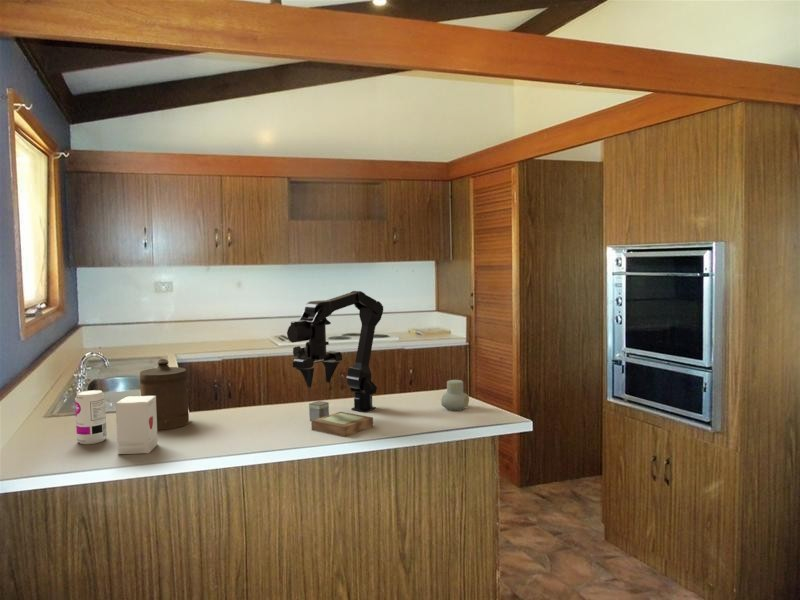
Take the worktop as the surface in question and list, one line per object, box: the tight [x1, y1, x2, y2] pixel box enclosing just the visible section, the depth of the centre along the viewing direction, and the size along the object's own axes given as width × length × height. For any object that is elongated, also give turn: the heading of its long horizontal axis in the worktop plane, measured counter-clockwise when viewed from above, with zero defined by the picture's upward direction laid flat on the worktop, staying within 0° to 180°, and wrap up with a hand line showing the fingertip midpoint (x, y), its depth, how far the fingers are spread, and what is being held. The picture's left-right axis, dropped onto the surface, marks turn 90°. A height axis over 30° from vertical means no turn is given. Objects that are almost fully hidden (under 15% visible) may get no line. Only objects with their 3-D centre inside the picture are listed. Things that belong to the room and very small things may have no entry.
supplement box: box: [115, 395, 159, 455], centre depth 185 cm, size 9×9×15 cm
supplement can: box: [74, 389, 108, 445], centre depth 194 cm, size 8×8×15 cm
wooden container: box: [139, 358, 190, 431], centre depth 212 cm, size 15×15×22 cm
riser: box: [310, 411, 374, 438], centre depth 205 cm, size 14×14×3 cm
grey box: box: [308, 400, 330, 422], centre depth 215 cm, size 5×5×6 cm
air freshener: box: [440, 379, 470, 411], centre depth 229 cm, size 11×8×10 cm
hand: (318, 384), depth 215 cm, fingers open, 9 cm apart
